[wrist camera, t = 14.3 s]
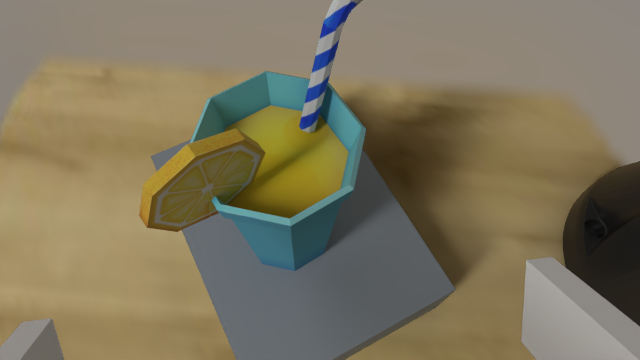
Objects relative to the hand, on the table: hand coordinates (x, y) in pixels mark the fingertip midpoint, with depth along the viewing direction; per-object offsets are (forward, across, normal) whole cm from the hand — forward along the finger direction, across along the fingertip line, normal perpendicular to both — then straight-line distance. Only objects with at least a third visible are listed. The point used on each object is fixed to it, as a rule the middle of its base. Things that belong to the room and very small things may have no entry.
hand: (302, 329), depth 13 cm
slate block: (+20, 0, -7) cm, 21 cm away
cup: (+16, 0, -4) cm, 17 cm away
